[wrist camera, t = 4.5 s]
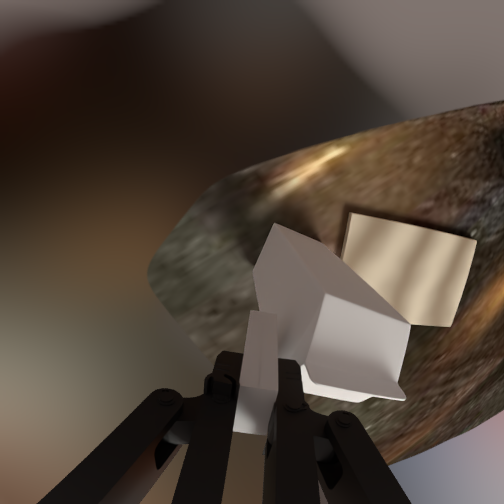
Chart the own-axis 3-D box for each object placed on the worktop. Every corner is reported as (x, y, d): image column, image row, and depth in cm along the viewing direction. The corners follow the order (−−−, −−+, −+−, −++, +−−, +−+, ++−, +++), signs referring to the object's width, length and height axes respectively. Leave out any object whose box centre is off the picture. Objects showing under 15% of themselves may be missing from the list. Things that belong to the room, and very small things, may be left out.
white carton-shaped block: (299, 289, 34) (375, 440, 13) (250, 271, 33) (278, 429, 12) (323, 241, 33) (442, 354, 12) (273, 220, 32) (347, 326, 11)
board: (471, 238, 31) (476, 240, 30) (446, 322, 34) (450, 326, 33) (349, 211, 32) (352, 213, 31) (327, 311, 35) (329, 316, 34)
